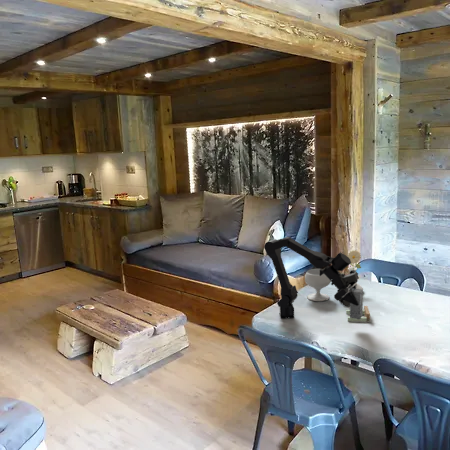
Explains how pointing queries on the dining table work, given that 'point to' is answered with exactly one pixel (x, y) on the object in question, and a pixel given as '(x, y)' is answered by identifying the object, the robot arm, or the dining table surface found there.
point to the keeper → (363, 319)
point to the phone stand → (344, 302)
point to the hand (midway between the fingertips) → (359, 303)
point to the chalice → (317, 284)
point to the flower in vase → (354, 258)
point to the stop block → (358, 310)
